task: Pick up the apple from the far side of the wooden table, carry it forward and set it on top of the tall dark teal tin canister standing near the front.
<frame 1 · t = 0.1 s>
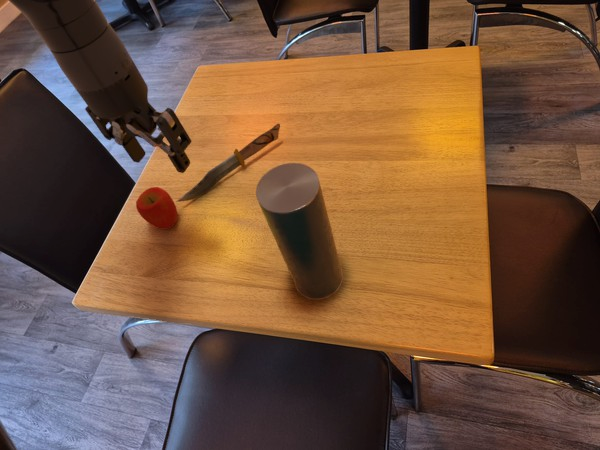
hand: (162, 163, 65), 18 cm above the table, tool pointing down, fingers open, 8 cm apart
apple: (168, 222, 82), on the table
knife: (234, 174, 86), on the table
tin can: (318, 277, 69), on the table
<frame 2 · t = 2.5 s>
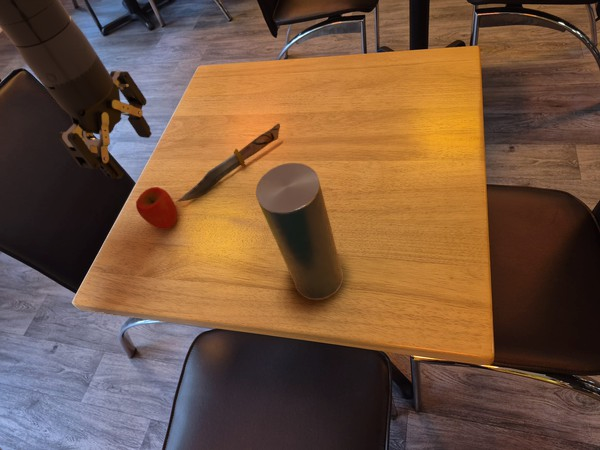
hand: (132, 155, 67), 18 cm above the table, tool pointing down, fingers open, 8 cm apart
nothing on the table moved.
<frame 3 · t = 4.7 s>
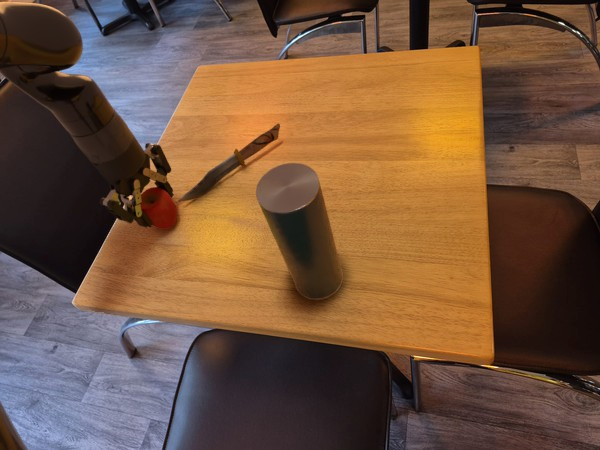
hand: (158, 210, 79), 4 cm above the table, tool pointing down, fingers closed on apple, 6 cm apart
apple: (168, 222, 82), on the table, touching gripper
everything else where it was.
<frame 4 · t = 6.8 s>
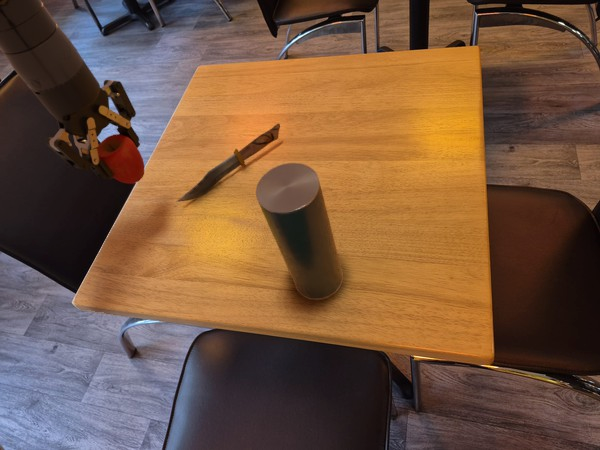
hand: (121, 161, 69), 16 cm above the table, tool pointing down, fingers closed on apple, 6 cm apart
apple: (134, 177, 72), point 13 cm above the table, touching gripper
everything else where it was.
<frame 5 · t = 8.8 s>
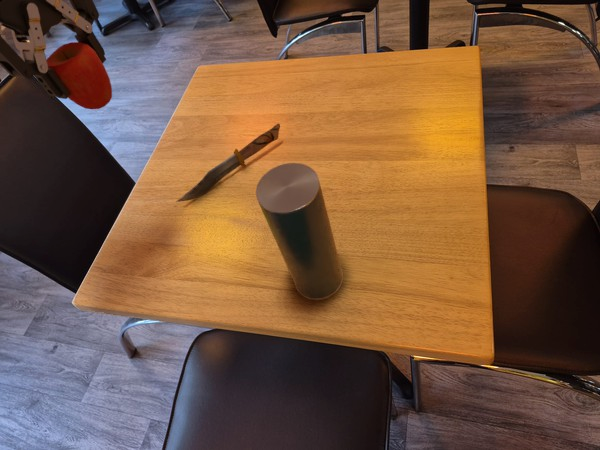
hand: (81, 78, 54), 33 cm above the table, tool pointing down, fingers closed on apple, 6 cm apart
apple: (99, 103, 57), point 29 cm above the table, touching gripper
everything else where it was.
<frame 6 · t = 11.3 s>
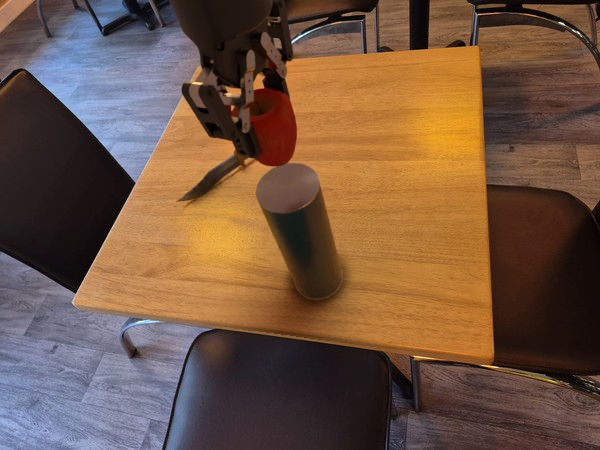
hand: (267, 131, 44), 31 cm above the table, tool pointing down, fingers closed on apple, 6 cm apart
apple: (276, 157, 47), point 27 cm above the table, touching gripper
everything else where it was.
when the fingers open (26 cm above the table, at t = 13.1 s): apple stays where it is, resting on tin can.
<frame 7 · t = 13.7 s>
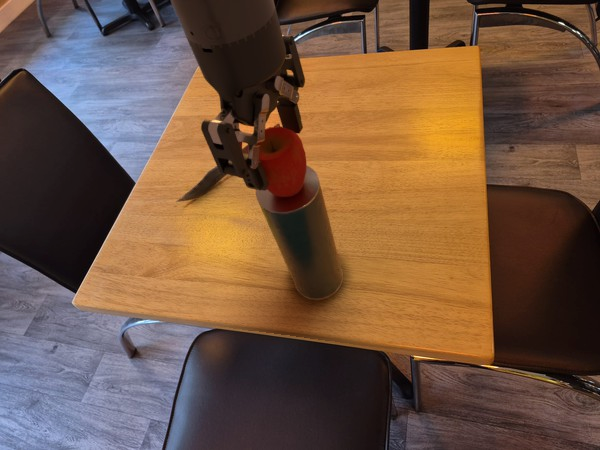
hand: (277, 157, 47), 27 cm above the table, tool pointing down, fingers open, 8 cm apart
apple: (287, 187, 51), point 22 cm above the table, touching tin can
tin can: (318, 277, 69), on the table, touching apple
everything else where it was.
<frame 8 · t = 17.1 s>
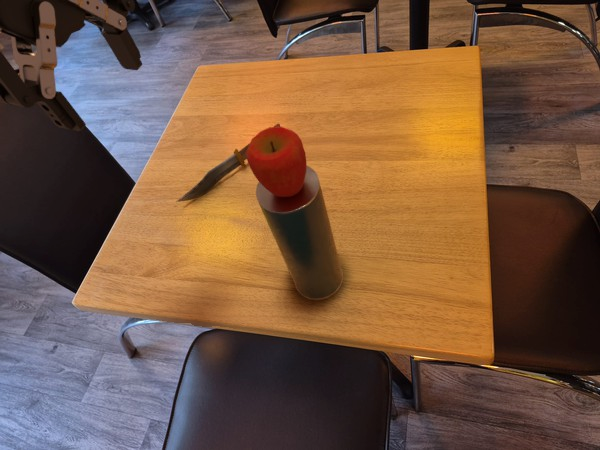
hand: (106, 96, 40), 38 cm above the table, tool pointing down, fingers open, 8 cm apart
nothing on the table moved.
at the end: apple 0.0 cm off-centre on the tin can, point 21.8 cm above the tin can's base; the gripper is holding nothing; tin can tilted 0° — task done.
